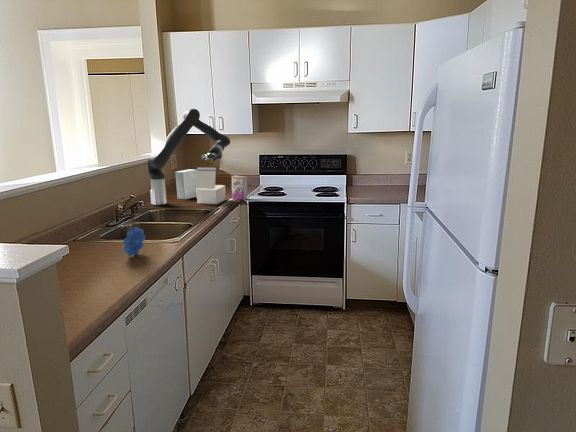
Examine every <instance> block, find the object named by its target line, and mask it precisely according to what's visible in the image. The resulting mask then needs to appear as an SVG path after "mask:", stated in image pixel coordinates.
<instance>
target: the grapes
mask: <svg viewBox="0 0 576 432" xmlns="http://www.w3.org/2000/svg"><path fill="white" fill-rule="evenodd" d="M145 240H146V235H145V234H144V229H143V228H139V227H137V226H134V227H133V228H132V229H131V230H128V231H127V233H126V237H125V238H124V239H123V245H124V247H123V252H124V253H126V254H127V256H128V257H132V256H137V255H139V253H140V250H142V249H143V248H144V246H145V243H144V241H145Z"/></svg>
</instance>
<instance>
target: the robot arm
mask: <svg viewBox="0 0 576 432" xmlns="http://www.w3.org/2000/svg"><path fill="white" fill-rule="evenodd" d="M182 118H183V120H182V121H181V122H180V123H179V124H178V125H177V126H175V127H174V128H173V129H172V130H171V131H170V132H169V134H168V135H167V137H166V138H165V142H164V146H163V148H162V149H161V151H160V152H159V153H158V154H151V155H149V156H148V157H147V169H148V175H149V178H150V191H149V193H150V204H151V205H154V206H161V205H166V204H167V192H166V179H165V177H166V175H165V174H164V173H163V171H162V169H163V168H164V167H165V166H166V165H167V163H168V161H169V159H170V158H171V156H172V155H173V153H174V152H175V151H176V150H177V148H178V147H179V145H180V144H181V143H182V142H183V140H184V138H185V137H186V135H187V134H188V133H189V132H190V130H191V129H192V128H193V127H195V128H196V129H198V130H199V131H200V132H202V133H203V134H205V135H206V136H207V137H208V138H210V139H211V140H212V141H214V142H215V141H216V142H215V144H214V145H213V146H212V147H211V148H210V149H209V150H208V153H207V154H206V153H203V154H202V155H201V156H200V160H201V163H204V162H205V161H207V160H210V159H212V161H213V162H216V161H217V160H218V159H219V160H221V159H222V157H223V153H222V152H223V151H224V150H225V149H226V147H228V146H229V145H230V144H231V140H230V137H228V136H227V135H224V134H222V133H220V132H218V131H217V130H216V129H215V128H214V127H212V126H211V125H209V124H207V123H205V122H204V121H201V120H200V118H201V117H200V111H199V110H198V109H196V108H190V109H187V110H185V111H183V113H182Z"/></svg>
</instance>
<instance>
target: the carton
mask: <svg viewBox="0 0 576 432" xmlns="http://www.w3.org/2000/svg"><path fill="white" fill-rule="evenodd" d="M195 198H196V202H197V203H196V204H198V205H199V204H200V205H201V204H202V205H218V204H221V203H222V202H224V201H226V185H224V184H223V185H222V184H215V189H204V188H196V197H195Z"/></svg>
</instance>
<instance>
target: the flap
mask: <svg viewBox="0 0 576 432" xmlns="http://www.w3.org/2000/svg"><path fill="white" fill-rule="evenodd" d="M216 169H217V167H200V166H199V167H197V168H196V170H197V188H204V189H215V185H216V176H217V175H216V174H217V173H216V171H217V170H216Z"/></svg>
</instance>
